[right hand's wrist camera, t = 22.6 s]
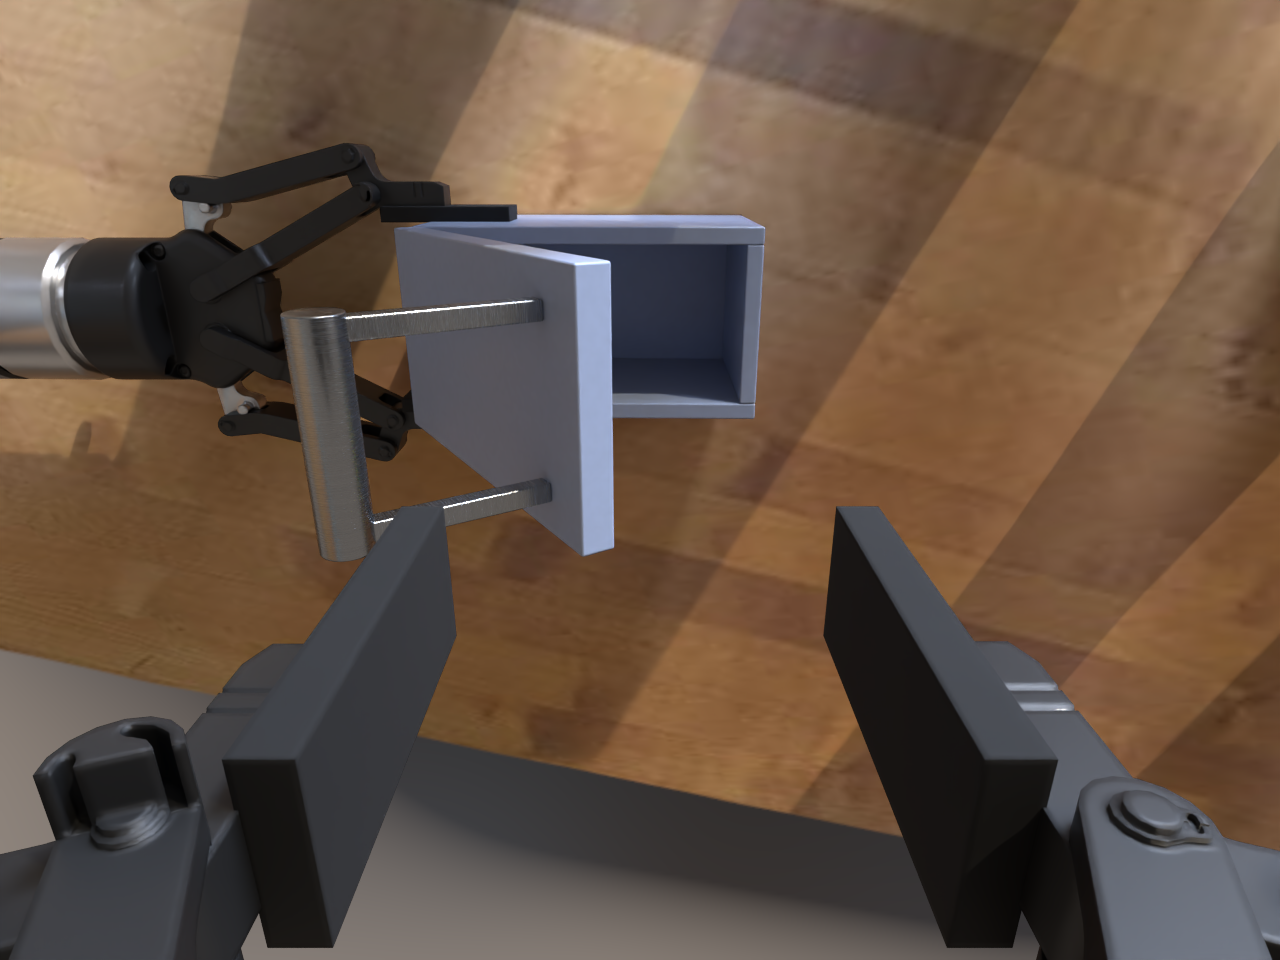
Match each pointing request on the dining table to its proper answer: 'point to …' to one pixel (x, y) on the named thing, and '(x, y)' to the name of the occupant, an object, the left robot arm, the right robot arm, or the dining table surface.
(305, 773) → the right robot arm
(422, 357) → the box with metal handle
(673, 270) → the chest
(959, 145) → the dining table surface
